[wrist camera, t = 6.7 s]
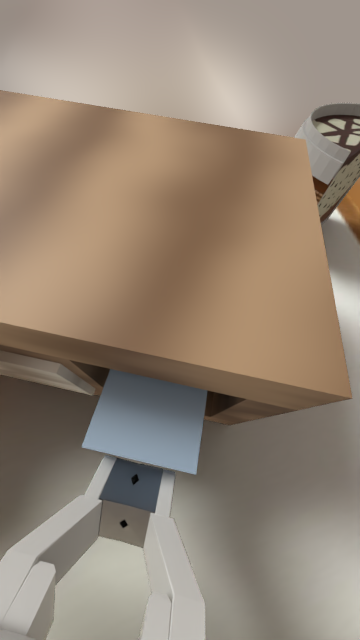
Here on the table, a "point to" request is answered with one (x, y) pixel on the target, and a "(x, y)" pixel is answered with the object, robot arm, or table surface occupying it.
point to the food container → (332, 152)
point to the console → (164, 258)
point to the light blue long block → (148, 421)
